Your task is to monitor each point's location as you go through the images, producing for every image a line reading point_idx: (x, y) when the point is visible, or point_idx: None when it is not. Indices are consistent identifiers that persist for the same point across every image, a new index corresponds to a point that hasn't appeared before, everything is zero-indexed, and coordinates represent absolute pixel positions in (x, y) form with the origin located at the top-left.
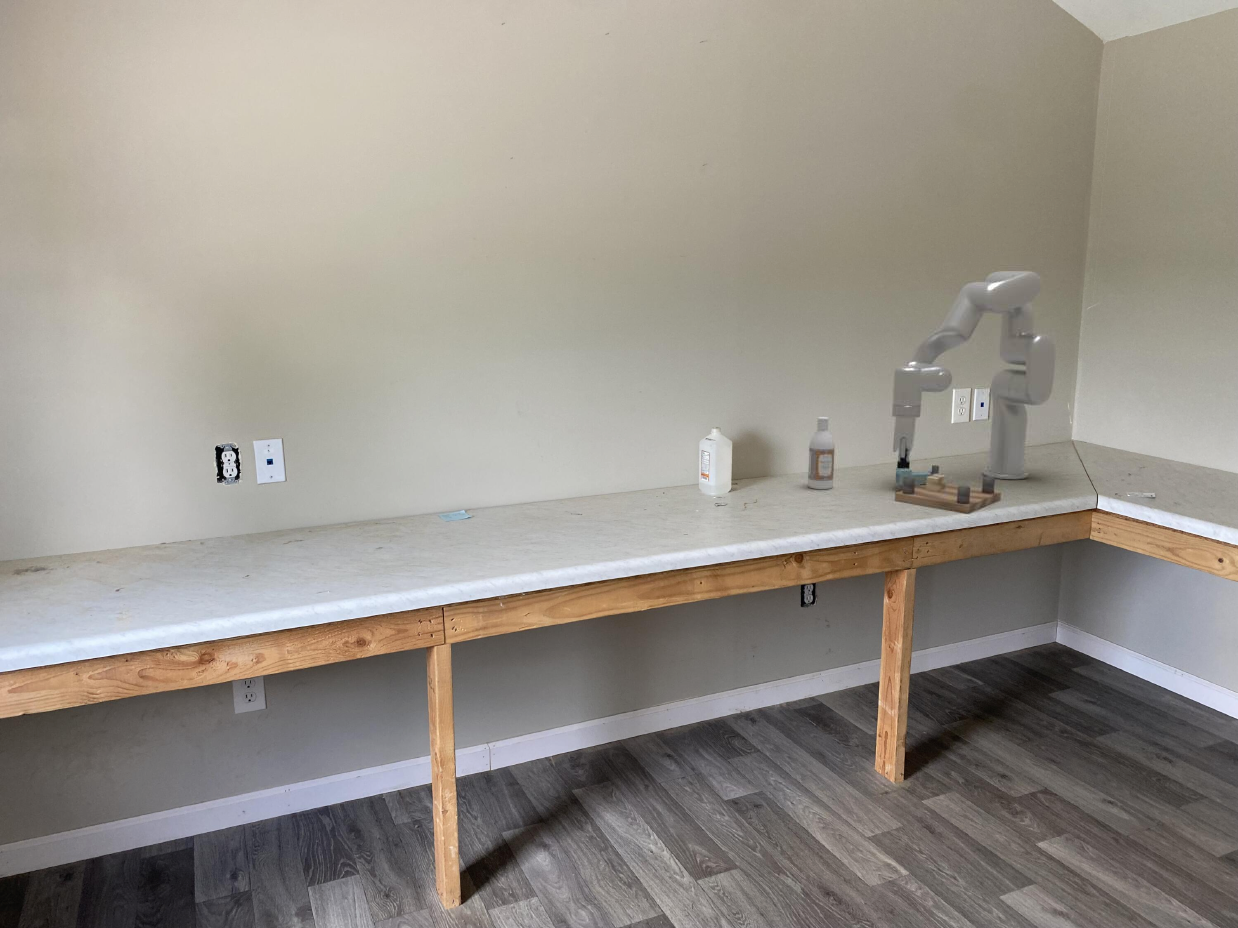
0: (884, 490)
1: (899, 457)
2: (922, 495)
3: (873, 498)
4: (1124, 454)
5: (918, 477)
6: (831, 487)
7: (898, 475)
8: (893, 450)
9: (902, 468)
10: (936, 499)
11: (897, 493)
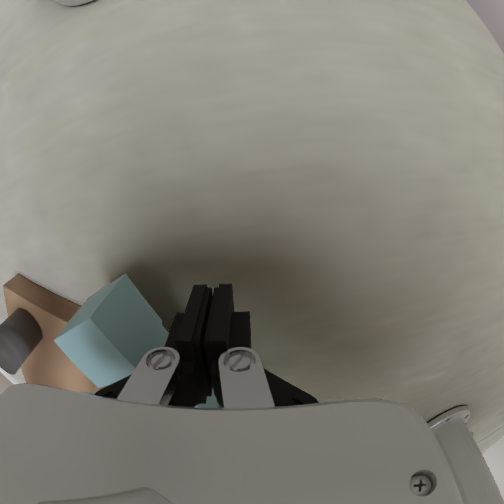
0: (121, 210)
1: (133, 384)
2: (35, 359)
3: (5, 202)
4: (493, 442)
5: None
6: (79, 4)
7: (83, 312)
8: (7, 389)
9: (112, 351)
10: (30, 382)
11: (5, 292)
